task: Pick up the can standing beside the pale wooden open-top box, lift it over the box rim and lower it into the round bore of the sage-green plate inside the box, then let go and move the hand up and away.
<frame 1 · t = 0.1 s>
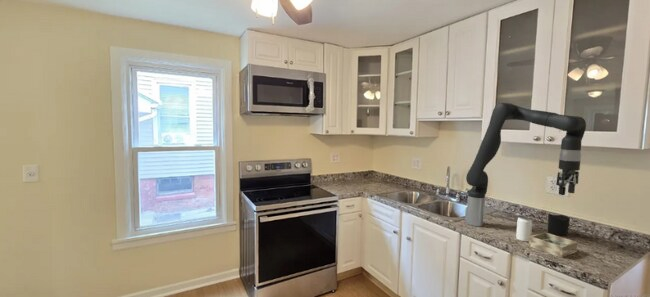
hand: (566, 193, 133), 29 cm above the worktop, tool pointing down, fingers open, 8 cm apart
pen holder: (557, 233, 162), on the worktop
bore box: (551, 249, 141), on the worktop
can: (523, 239, 152), on the worktop
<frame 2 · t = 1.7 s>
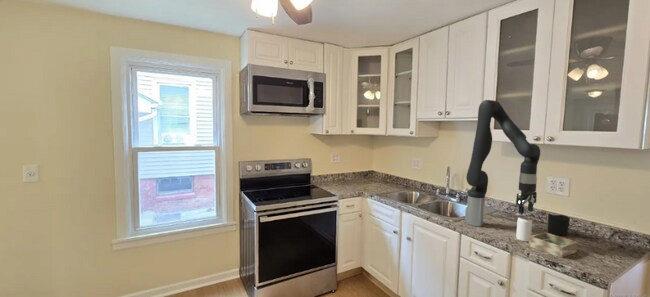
hand: (525, 212, 151), 15 cm above the worktop, tool pointing down, fingers open, 8 cm apart
nothing on the worktop moved.
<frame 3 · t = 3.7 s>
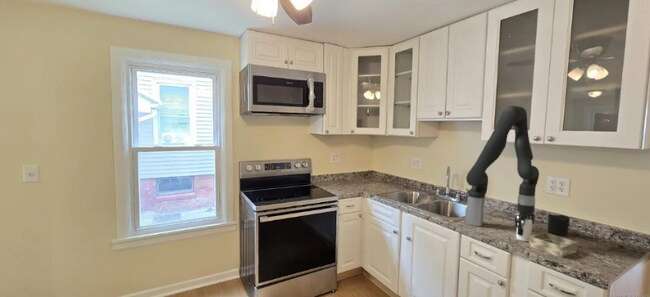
hand: (523, 233, 152), 3 cm above the worktop, tool pointing down, fingers closed on can, 6 cm apart
can: (523, 239, 152), on the worktop, touching gripper
everything else where it was.
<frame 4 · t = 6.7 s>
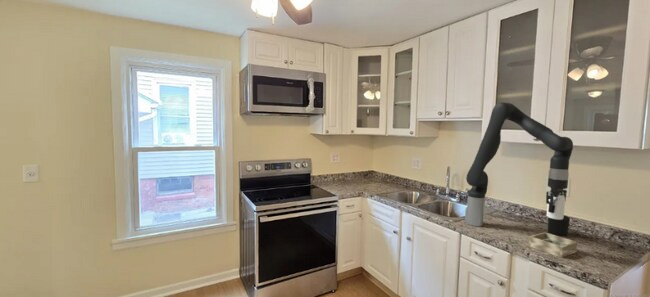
hand: (555, 211, 139), 19 cm above the worktop, tool pointing down, fingers closed on can, 6 cm apart
can: (554, 218, 140), point 16 cm above the worktop, touching gripper
everything else where it was.
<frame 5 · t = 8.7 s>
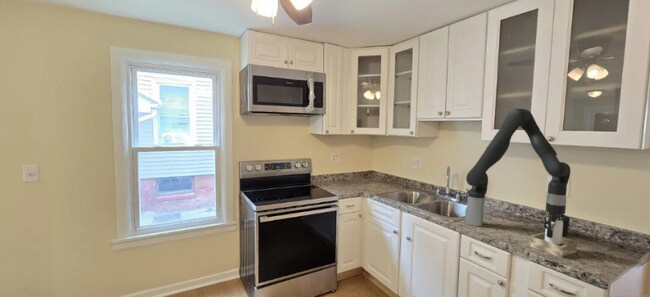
hand: (553, 236, 140), 7 cm above the worktop, tool pointing down, fingers closed on can, 6 cm apart
can: (552, 242, 141), point 3 cm above the worktop, touching gripper
everything else where it was.
when the fingers open (5 cm above the worktop, at t = 10.1 s): can drops 2 cm, resting in bore box.
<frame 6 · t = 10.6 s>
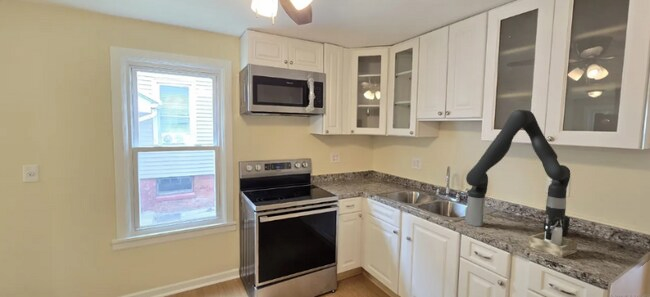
hand: (552, 238, 140), 6 cm above the worktop, tool pointing down, fingers open, 8 cm apart
can: (552, 249, 141), resting in bore box
everything else where it was.
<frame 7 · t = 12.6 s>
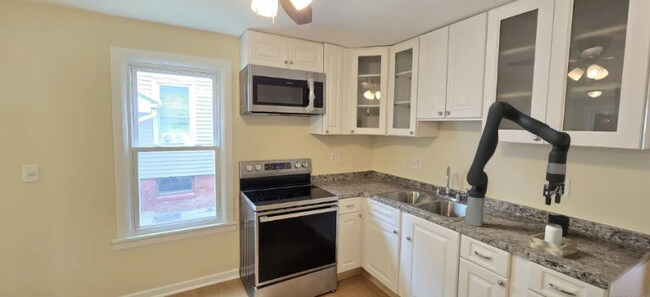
hand: (552, 204, 142), 22 cm above the worktop, tool pointing down, fingers open, 8 cm apart
nothing on the worktop moved.
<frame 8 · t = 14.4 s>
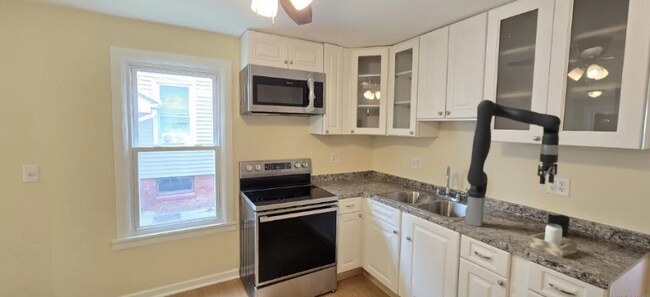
hand: (546, 183, 152), 30 cm above the worktop, tool pointing down, fingers open, 8 cm apart
nothing on the worktop moved.
at the end: can 0.4 cm off-centre on the bore box, point 0.0 cm above the bore box's base; can tilted 0°; the gripper is holding nothing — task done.
